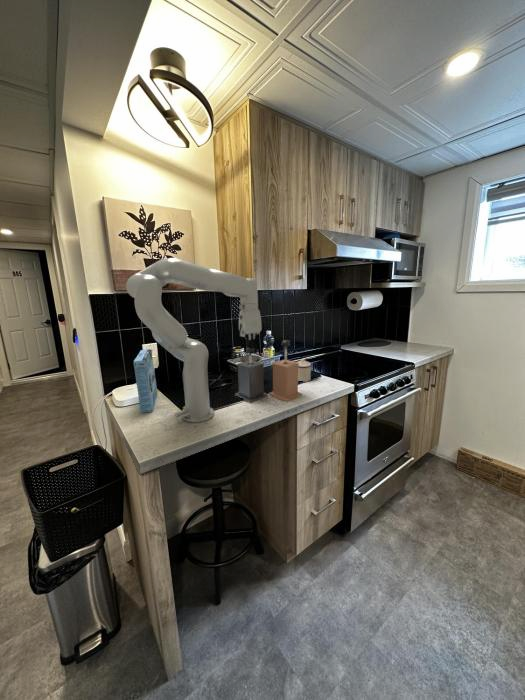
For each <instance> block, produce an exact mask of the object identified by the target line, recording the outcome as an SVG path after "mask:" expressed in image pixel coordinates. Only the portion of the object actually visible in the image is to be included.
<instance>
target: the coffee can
mask: <svg viewBox="0 0 525 700" xmlns="http://www.w3.org/2000/svg"><path fill="white" fill-rule="evenodd" d="M251 358H252V360H254V361H257V362H260V363H261V357H260V356H259V355H253V354H251ZM246 361H249V354H248V355H243V356H241V357H240V363H242V362H246Z"/></svg>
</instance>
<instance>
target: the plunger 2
mask: <svg viewBox="0 0 525 700" xmlns="http://www.w3.org/2000/svg"><path fill="white" fill-rule="evenodd" d="M281 346H282V347H284V360H285V364H287V360H288V347H290V346H291V341H290V340H288V339H283V340H282V341H281Z"/></svg>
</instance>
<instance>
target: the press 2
mask: <svg viewBox="0 0 525 700" xmlns="http://www.w3.org/2000/svg"><path fill="white" fill-rule="evenodd" d="M297 362H298V361H294V360H293V361H292V360H288V359H287V364H285V359H282V360H279V361H275V362H272V391H271V392H269V393H268V395H269V396H270V397H272V398H275V399H277V400H279V401H282V402H284V403H288V401H289V402H291V401H292V400H295V399H297V398H300V397H301V396H302V395H303V394H302V392H299V390H298V389H299V381H298V365H299V363H297Z"/></svg>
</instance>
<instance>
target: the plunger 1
mask: <svg viewBox="0 0 525 700" xmlns="http://www.w3.org/2000/svg"><path fill="white" fill-rule="evenodd" d="M245 349H246V350H245V352H246V354H248V355H249V365H251V364H252V358H251V355H252V354H253V353H255V347H254V348H247V347H246V348H245Z"/></svg>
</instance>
